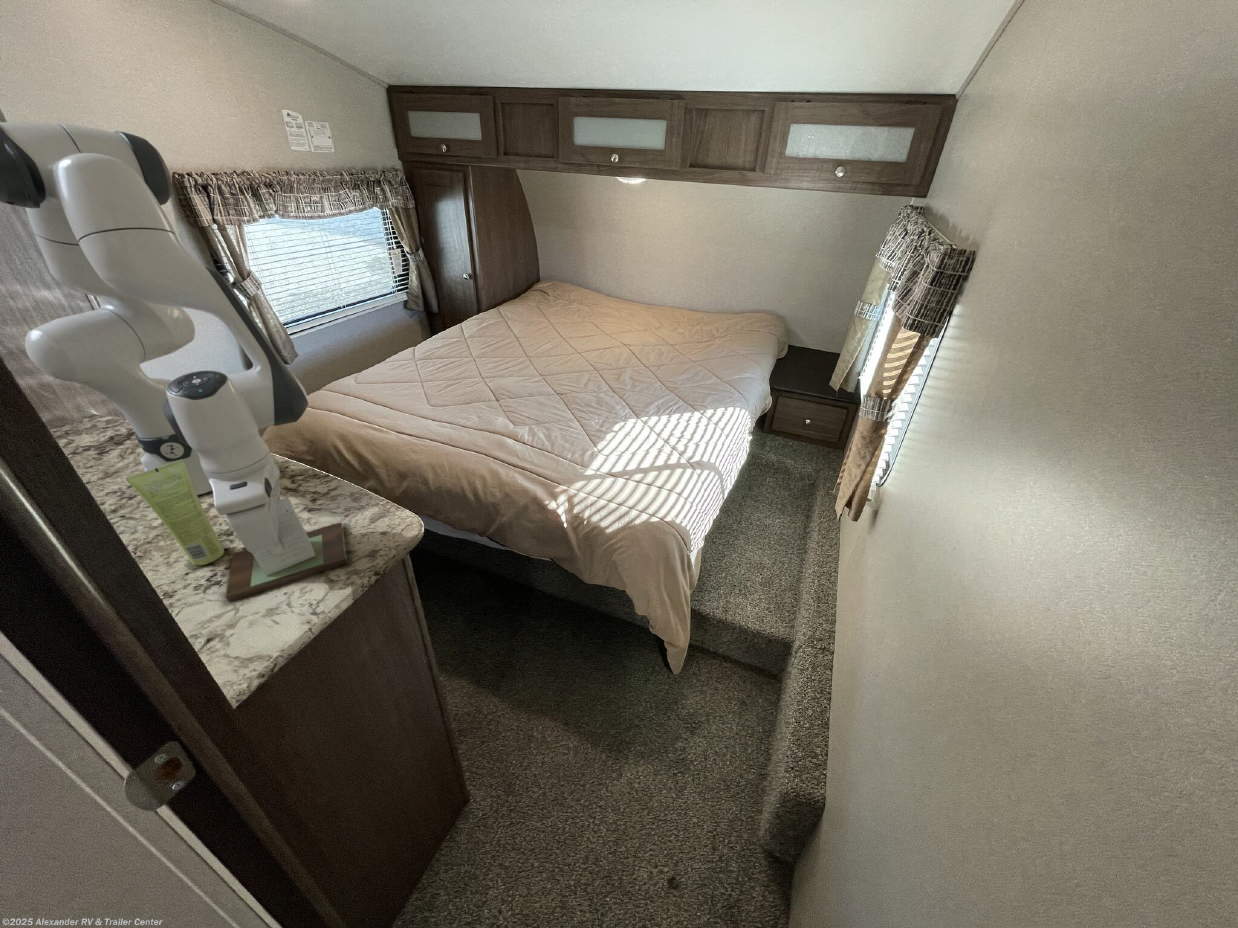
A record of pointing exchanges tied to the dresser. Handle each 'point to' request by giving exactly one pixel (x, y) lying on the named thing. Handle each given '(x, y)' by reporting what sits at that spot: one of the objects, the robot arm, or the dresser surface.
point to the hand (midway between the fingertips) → (279, 539)
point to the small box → (287, 542)
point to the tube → (179, 510)
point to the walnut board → (253, 580)
